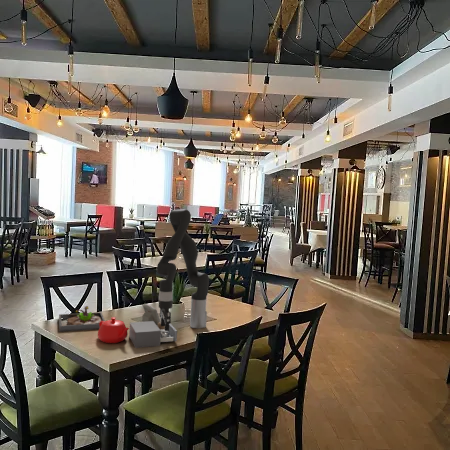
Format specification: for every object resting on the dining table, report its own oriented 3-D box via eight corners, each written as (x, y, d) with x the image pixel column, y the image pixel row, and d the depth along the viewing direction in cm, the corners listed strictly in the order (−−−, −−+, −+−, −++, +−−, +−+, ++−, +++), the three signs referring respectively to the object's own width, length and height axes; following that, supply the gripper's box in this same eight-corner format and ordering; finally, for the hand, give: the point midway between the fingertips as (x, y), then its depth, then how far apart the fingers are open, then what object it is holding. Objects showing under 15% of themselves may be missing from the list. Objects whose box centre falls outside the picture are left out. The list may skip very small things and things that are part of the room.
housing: (152, 335, 236) (153, 321, 235) (160, 345, 219) (160, 330, 219) (129, 336, 231) (129, 322, 230) (135, 347, 214) (135, 332, 214)
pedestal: (163, 330, 245) (163, 321, 245) (165, 332, 241) (165, 323, 241) (156, 330, 244) (157, 322, 243) (158, 332, 240) (158, 324, 240)
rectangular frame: (101, 316, 266) (101, 312, 266) (105, 328, 243) (106, 323, 243) (59, 319, 256) (59, 314, 256) (59, 331, 233) (59, 326, 233)
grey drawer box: (169, 332, 238) (170, 322, 237) (177, 341, 224) (177, 330, 224) (147, 334, 233) (147, 324, 232) (153, 343, 219) (153, 332, 219)
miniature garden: (71, 330, 238) (72, 311, 237) (64, 321, 254) (64, 303, 253) (106, 326, 249) (107, 307, 248) (97, 317, 265) (97, 300, 264)
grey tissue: (161, 326, 253) (161, 308, 253) (146, 327, 250) (147, 309, 249) (154, 318, 268) (155, 302, 268) (140, 319, 265) (141, 303, 264)
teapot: (87, 338, 225) (87, 315, 224) (111, 332, 237) (112, 310, 237) (115, 350, 210) (116, 326, 209) (140, 343, 222) (141, 320, 221)
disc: (167, 333, 233) (167, 329, 233) (170, 337, 227) (170, 333, 227) (156, 334, 230) (156, 330, 230) (159, 338, 225) (159, 334, 224)
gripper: (176, 301, 222) (175, 331, 223) (168, 295, 235) (168, 323, 237) (162, 302, 219) (161, 332, 221) (155, 296, 233) (154, 325, 234)
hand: (164, 328), depth 229 cm, fingers open, 8 cm apart
